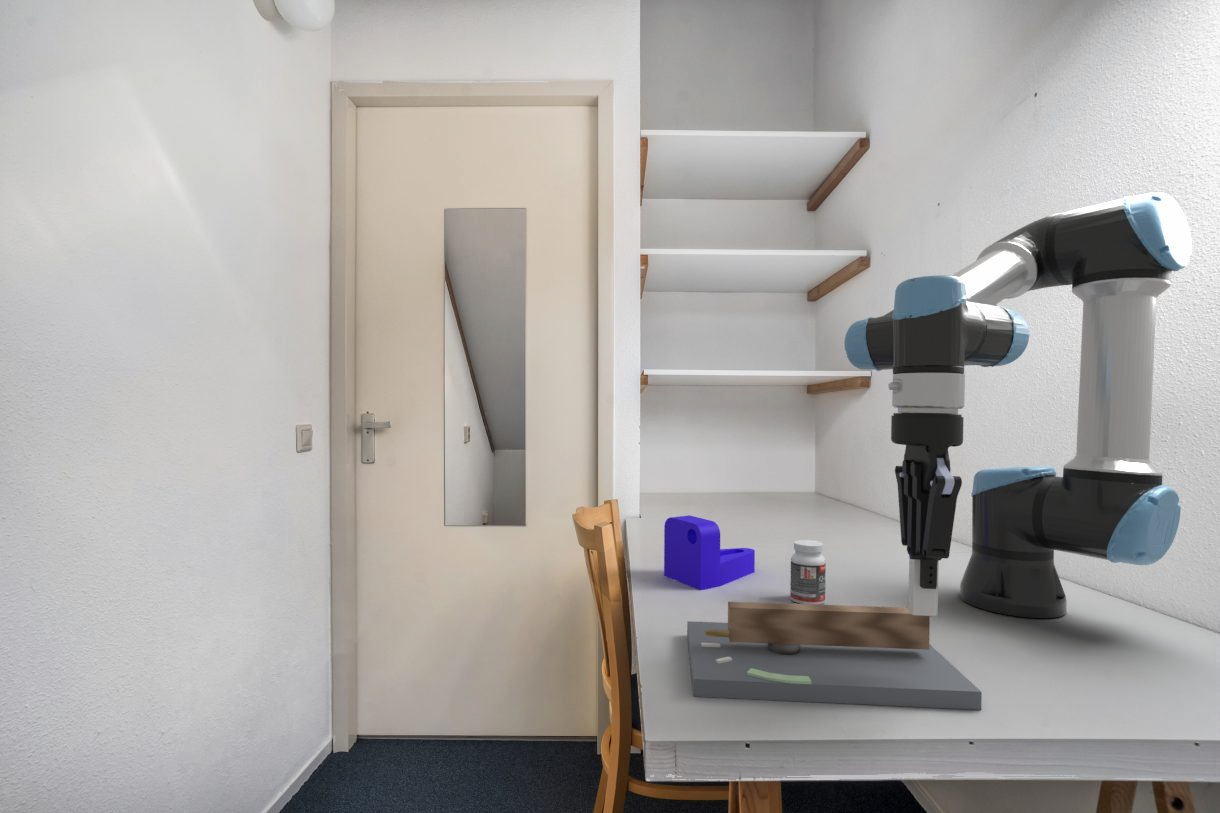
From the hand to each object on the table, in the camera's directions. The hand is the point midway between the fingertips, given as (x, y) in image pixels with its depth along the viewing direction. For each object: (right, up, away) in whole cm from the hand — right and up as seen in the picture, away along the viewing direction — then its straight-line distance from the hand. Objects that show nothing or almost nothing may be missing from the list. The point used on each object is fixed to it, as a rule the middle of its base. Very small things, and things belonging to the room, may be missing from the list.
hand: (922, 613), depth 73 cm
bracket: (-15, -9, +49) cm, 52 cm away
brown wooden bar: (-10, -7, +7) cm, 14 cm away
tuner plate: (-11, -9, +7) cm, 15 cm away
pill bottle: (-3, -9, +34) cm, 35 cm away
